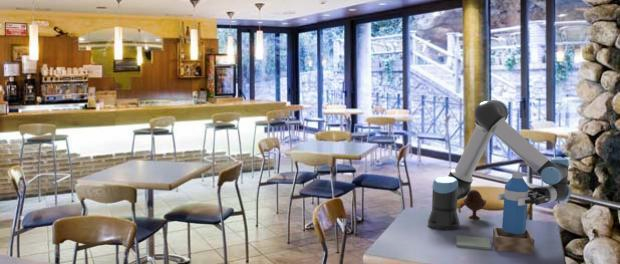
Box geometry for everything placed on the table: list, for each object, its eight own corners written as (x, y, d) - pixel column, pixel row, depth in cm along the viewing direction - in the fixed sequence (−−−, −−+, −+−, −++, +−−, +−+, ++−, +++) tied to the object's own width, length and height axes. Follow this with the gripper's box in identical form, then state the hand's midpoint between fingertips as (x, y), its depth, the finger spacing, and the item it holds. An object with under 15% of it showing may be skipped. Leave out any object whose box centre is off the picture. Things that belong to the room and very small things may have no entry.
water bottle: (514, 235, 224) (518, 175, 221) (497, 229, 232) (501, 171, 229) (530, 232, 228) (534, 174, 225) (512, 226, 236) (516, 170, 234)
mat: (456, 246, 230) (456, 244, 230) (456, 237, 244) (456, 235, 244) (491, 249, 227) (491, 247, 227) (489, 240, 240) (489, 238, 240)
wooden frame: (495, 250, 226) (495, 236, 225) (492, 240, 240) (493, 227, 240) (533, 254, 222) (534, 239, 221) (528, 243, 236) (529, 230, 236)
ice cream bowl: (486, 221, 271) (488, 192, 269) (463, 220, 273) (465, 191, 271) (484, 216, 281) (485, 188, 279) (462, 215, 283) (463, 186, 282)
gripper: (565, 208, 229) (530, 214, 217) (521, 197, 248) (487, 202, 236) (566, 191, 228) (531, 196, 217) (522, 181, 247) (488, 185, 235)
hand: (508, 199), depth 226 cm, fingers closed on water bottle, 9 cm apart
